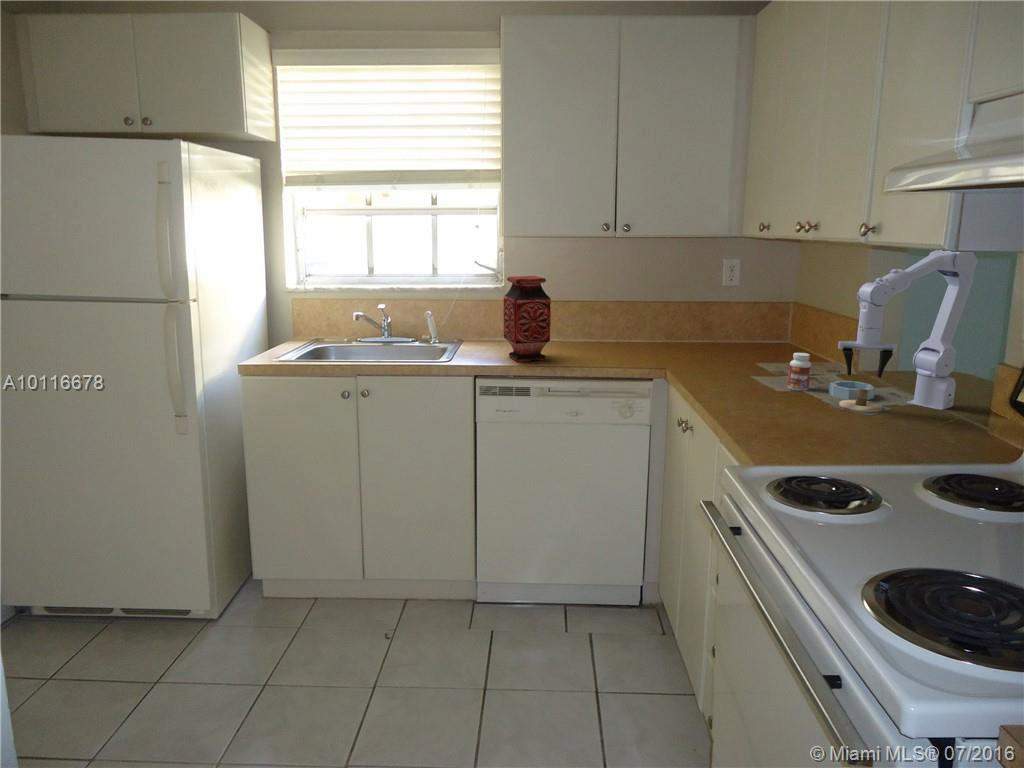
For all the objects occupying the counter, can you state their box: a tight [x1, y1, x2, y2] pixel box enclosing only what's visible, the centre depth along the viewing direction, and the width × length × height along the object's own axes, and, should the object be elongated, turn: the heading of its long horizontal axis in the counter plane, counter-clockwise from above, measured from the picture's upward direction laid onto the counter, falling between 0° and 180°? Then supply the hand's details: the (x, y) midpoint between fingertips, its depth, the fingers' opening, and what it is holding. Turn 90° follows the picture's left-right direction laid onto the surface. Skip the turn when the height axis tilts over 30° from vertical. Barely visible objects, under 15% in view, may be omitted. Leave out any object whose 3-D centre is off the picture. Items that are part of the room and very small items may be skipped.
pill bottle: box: [787, 352, 812, 392], centre depth 229 cm, size 6×6×11 cm
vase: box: [503, 275, 552, 363], centre depth 272 cm, size 14×14×30 cm
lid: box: [839, 389, 883, 413], centre depth 207 cm, size 11×11×5 cm
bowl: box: [828, 380, 876, 401], centre depth 221 cm, size 11×11×4 cm
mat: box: [828, 403, 893, 417], centre depth 208 cm, size 12×12×1 cm
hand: (864, 375), depth 206 cm, fingers open, 7 cm apart
